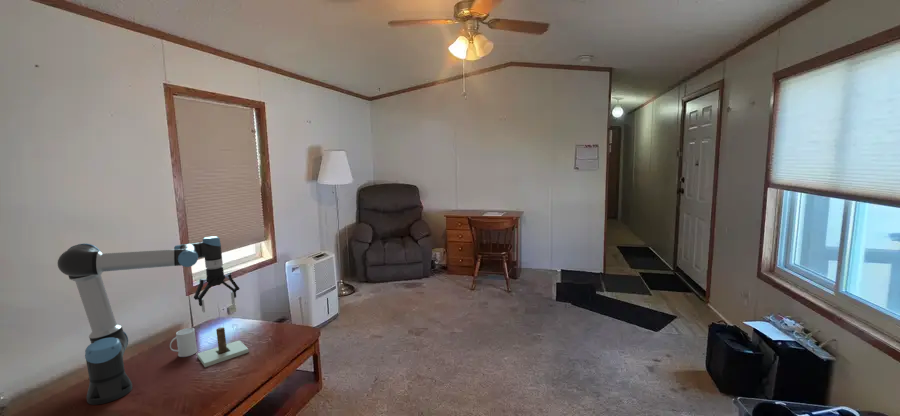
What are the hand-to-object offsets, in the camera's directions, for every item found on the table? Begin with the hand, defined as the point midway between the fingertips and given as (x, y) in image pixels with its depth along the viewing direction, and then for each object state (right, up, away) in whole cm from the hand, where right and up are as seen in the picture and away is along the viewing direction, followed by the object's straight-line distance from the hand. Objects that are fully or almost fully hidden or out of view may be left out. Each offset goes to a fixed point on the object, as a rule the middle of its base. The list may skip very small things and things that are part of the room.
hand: (218, 307), depth 206 cm
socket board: (+1, -24, +2) cm, 25 cm away
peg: (+1, -25, +1) cm, 25 cm away
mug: (-20, -25, +3) cm, 32 cm away
